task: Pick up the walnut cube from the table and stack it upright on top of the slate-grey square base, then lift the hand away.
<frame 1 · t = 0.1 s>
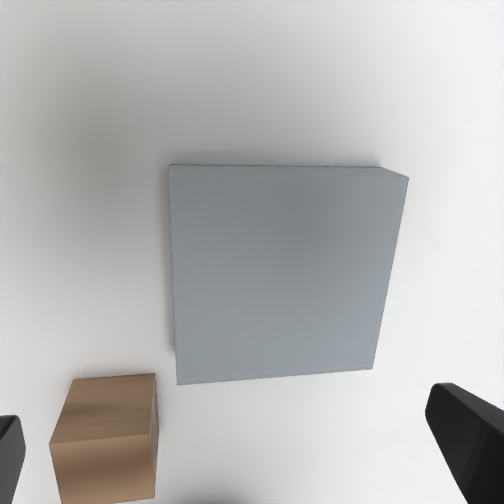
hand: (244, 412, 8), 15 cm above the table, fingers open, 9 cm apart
walnut cube: (118, 405, 26), on the table
grey base: (274, 265, 23), on the table
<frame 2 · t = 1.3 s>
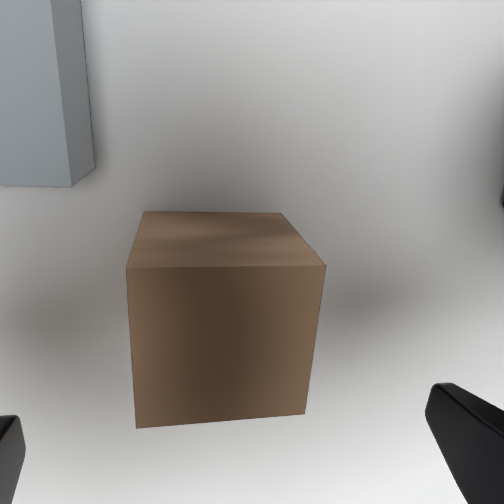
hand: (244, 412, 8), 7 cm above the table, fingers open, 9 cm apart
walnut cube: (212, 273, 15), on the table
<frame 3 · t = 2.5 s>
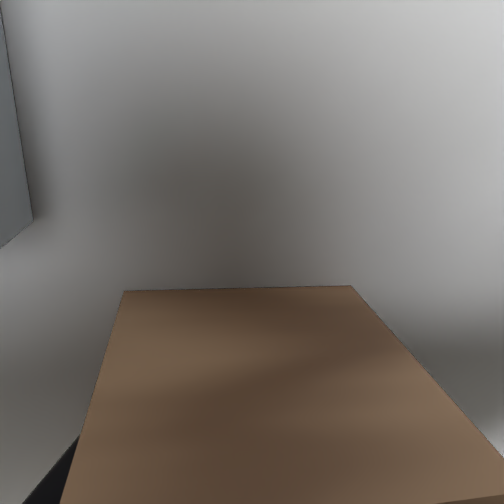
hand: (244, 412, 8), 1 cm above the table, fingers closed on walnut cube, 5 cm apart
walnut cube: (238, 380, 9), on the table, touching gripper
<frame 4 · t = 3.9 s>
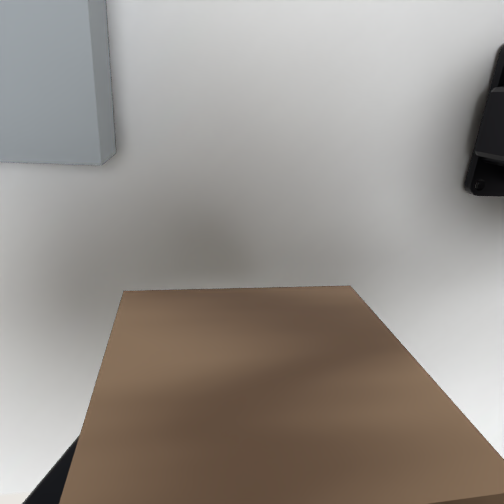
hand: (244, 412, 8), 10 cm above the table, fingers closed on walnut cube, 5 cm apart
walnut cube: (237, 380, 9), point 9 cm above the table, touching gripper
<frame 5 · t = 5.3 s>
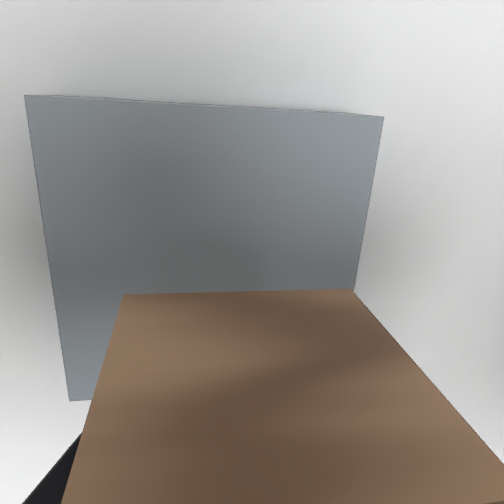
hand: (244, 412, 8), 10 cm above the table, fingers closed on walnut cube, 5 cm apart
walnut cube: (237, 383, 9), point 9 cm above the table, touching gripper
grey base: (209, 243, 18), on the table
when the fingers open (5 cm above the table, at t = 6.5 s): walnut cube drops 1 cm, resting on grey base.
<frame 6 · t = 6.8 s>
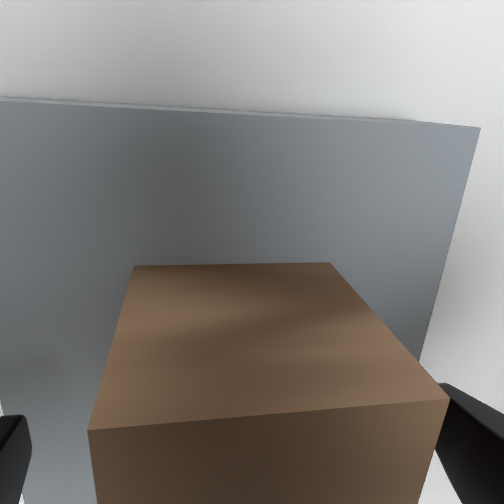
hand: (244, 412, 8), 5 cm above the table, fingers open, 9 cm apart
walnut cube: (232, 346, 11), point 3 cm above the table, touching grey base
grey base: (220, 293, 13), on the table
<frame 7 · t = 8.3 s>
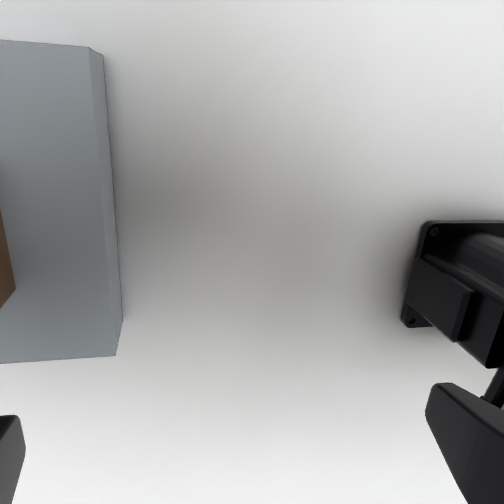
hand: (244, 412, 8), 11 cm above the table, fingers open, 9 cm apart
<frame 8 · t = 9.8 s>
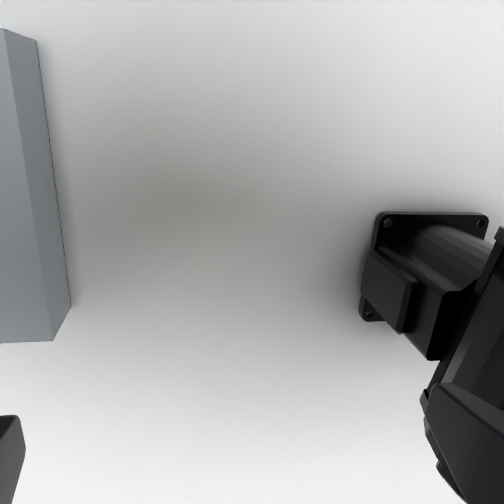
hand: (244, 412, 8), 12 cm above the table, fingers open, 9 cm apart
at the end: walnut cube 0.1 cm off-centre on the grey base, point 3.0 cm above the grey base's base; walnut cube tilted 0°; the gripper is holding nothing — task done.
